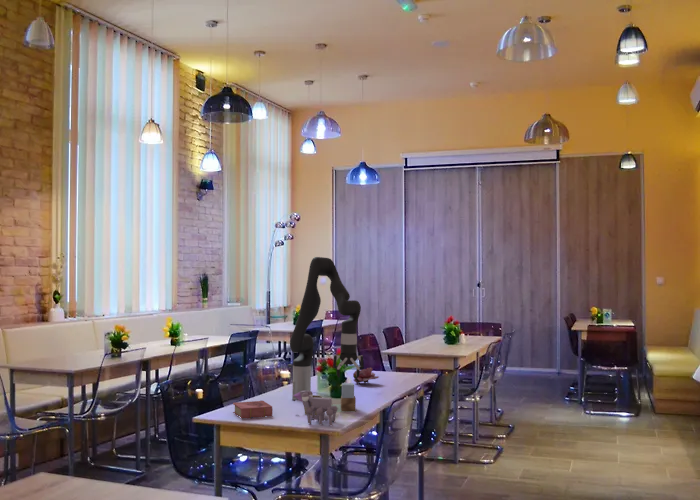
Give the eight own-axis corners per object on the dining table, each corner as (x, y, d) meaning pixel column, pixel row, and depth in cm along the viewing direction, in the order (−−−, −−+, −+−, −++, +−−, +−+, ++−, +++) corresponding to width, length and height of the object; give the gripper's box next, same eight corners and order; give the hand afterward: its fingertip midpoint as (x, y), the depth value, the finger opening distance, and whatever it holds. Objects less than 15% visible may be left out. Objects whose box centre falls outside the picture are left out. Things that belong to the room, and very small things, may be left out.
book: (241, 420, 316) (241, 408, 316) (233, 413, 330) (233, 402, 330) (272, 417, 322) (272, 406, 322) (263, 411, 336) (263, 400, 336)
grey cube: (342, 398, 332) (342, 385, 332) (341, 395, 337) (341, 383, 337) (354, 398, 332) (354, 385, 332) (353, 395, 338) (353, 383, 338)
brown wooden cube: (341, 411, 331) (341, 398, 331) (340, 408, 338) (340, 395, 338) (355, 411, 331) (355, 398, 332) (354, 408, 338) (354, 395, 338)
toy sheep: (287, 423, 309) (288, 391, 310) (296, 419, 320) (297, 388, 321) (331, 426, 304) (332, 394, 305) (339, 422, 314) (339, 391, 315)
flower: (384, 378, 416) (378, 362, 417) (371, 385, 404) (366, 368, 405) (363, 383, 424) (358, 367, 425) (350, 390, 412) (345, 374, 413)
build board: (330, 414, 329) (330, 411, 329) (328, 406, 347) (329, 404, 347) (356, 413, 330) (356, 411, 330) (353, 406, 348) (353, 404, 348)
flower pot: (314, 419, 318) (314, 399, 318) (297, 416, 323) (297, 397, 323) (326, 415, 326) (326, 396, 326) (309, 413, 331) (309, 394, 331)
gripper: (333, 343, 331) (333, 378, 331) (364, 344, 332) (363, 379, 331) (333, 341, 338) (332, 376, 338) (363, 342, 339) (362, 376, 339)
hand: (348, 377), depth 335 cm, fingers open, 8 cm apart
